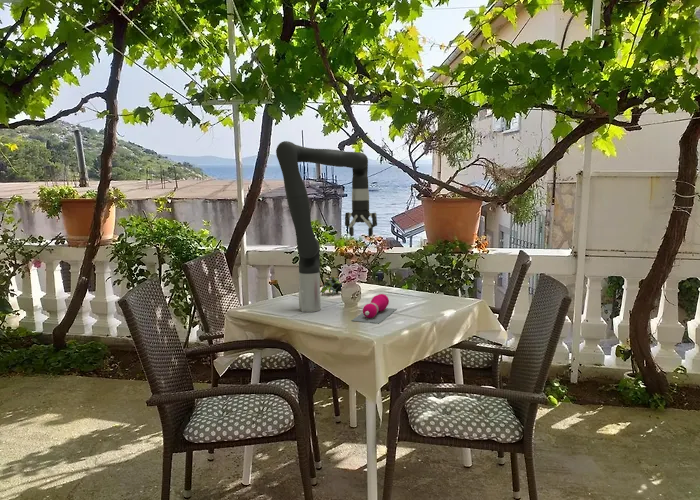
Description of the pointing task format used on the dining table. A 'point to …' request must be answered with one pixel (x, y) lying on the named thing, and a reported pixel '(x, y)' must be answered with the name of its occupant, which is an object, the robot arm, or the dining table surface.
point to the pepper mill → (376, 305)
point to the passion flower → (332, 285)
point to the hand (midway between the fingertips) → (361, 236)
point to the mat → (377, 318)
